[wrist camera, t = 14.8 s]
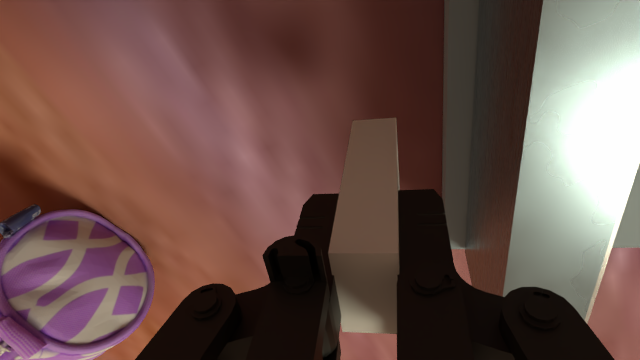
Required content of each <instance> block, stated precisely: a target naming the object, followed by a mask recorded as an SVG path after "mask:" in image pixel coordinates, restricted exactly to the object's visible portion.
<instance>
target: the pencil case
mask: <svg viewBox="0 0 640 360" xmlns="http://www.w3.org/2000/svg"><path fill="white" fill-rule="evenodd" d="M40 213H41V209H40V207H39V206H38V205H35V204H34V205H32V206H30V207H28V208H26V209H24V210H22V211H20V212H18V213H16V214H15V215H13V216H11V217H9V218H7V219H5V220H4V221H2V222H0V233H1V234H2V235H3V239H2V241H1V242H0V360H93V359H94V358H96V357H98V356H100V355H101V354H103V353H104V352H105V351H106V350H108V349H109V348H111V347H113V346H115V345H117V344H118V343H120V342H122V341H123V340H124V339H126V338H127V337H128V336H129V335H130V334H132V333H133V332H134V331H135V330H136V329H137V328H138V326H139V325H140V324H141V322H142V321H143V319H144V318H145V316H146V314H147V312H148V310H149V308H150V306H151V302H152V299H153V294H154V283H155V280H154V271H153V267H152V265H151V262H150V260H149V258H148V256H147V255H146V253H145V252H144V251H143V249H142V248H141V246H140V245H139V244H138V243H137V242H136V241H135V240H134V239H133V238H132V237H131V236H130V235H129V234H127V233H126V232H124V231H123V230H121V229H120V228H118V227H116V226H114V225H113V224H112V223H110V222H109V221H107V220H106V219H104V218H103V217H101V216H99V215H97V214H94V213H91V212H88V211H85V210H78V209H66V210H58V211H53V212H48V213H45V214H42V215H39V214H40ZM38 215H39V216H38ZM36 216H37V217H36Z"/></svg>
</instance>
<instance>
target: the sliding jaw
mask: <svg viewBox="0 0 640 360" xmlns="http://www.w3.org/2000/svg"><path fill="white" fill-rule="evenodd" d="M639 162H640V0H479V13H478V30H477V48H476V66H475V83H474V101H473V119H472V136H471V154H470V172H469V189H468V207H467V225H466V242H465V254H466V259H467V264H468V269H469V274H470V278H471V283H472V286H473V287H474V288H476V289H479V290H482V291H484V292H488V293H491V294H495V295H499V296H503V297H505V296H506V295H507V294H508V293H509V292H510V291H512V290H514V289H517V288H520V287H539V288H543V289H547V290H550V291H552V292H554V293H556V294H558V295H560V296H562V297H564V298H565V299H566V300H567V301H568V302H569V303H570V304H571V305H572V306H573V307H574V308H575V309H576V310H577V312H578V313H579V314H580V316H581V317H582V318H583V319H584V321H585V322H586V323H588V320H589V317H590V314H591V311H592V307H593V304H594V301H595V298H596V295H597V292H598V289H599V286H600V283H601V280H602V277H603V273H604V270H605V267H606V264H607V261H608V258H609V255H610V252H611V249H612V246H613V243H614V239H615V236H616V233H617V230H618V227H619V224H620V221H621V218H622V215H623V212H624V209H625V205H626V202H627V199H628V196H629V193H630V190H631V187H632V184H633V181H634V178H635V175H636V171H637V168H638V165H639Z"/></svg>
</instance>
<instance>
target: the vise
mask: <svg viewBox="0 0 640 360" xmlns="http://www.w3.org/2000/svg"><path fill="white" fill-rule="evenodd" d="M478 13H479V0H444V74H443V150H442V199H443V203H444V209H445V215H446V221H447V227H448V233H449V239H450V245H451V249H465V242H466V225H467V207H468V189H469V172H470V154H471V136H472V119H473V101H474V83H475V66H476V48H477V30H478ZM625 247H640V162H639V165H638V168H637V171H636V175H635V178H634V181H633V184H632V187H631V190H630V193H629V196H628V199H627V202H626V205H625V209H624V212H623V215H622V218H621V221H620V224H619V227H618V230H617V233H616V236H615V239H614V243H613V246H612V248H625Z"/></svg>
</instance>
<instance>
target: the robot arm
mask: <svg viewBox="0 0 640 360" xmlns="http://www.w3.org/2000/svg"><path fill="white" fill-rule="evenodd" d="M263 259H264V262H265V266H266V269H267V272H268V275H269V279H270V283H269V284H268V285H266V286H264V287H261V288H258V289H256V290H252V291H248V292H244V293H240V294H236V295H235V293H234V292H233V290H232V289H231V288H230V287H228V286H226V285H224V284H209V285H205V286H202V287H200V288H198V289H196V290H195V291H193V292H191V293H190V294H189V295H188V296H187V297H186V298H185V299H184V300H183V301H182V302H181V303H180V305H179V306H178V307H177V308H176V310H175V311H174V312H173V313H172V315H171V316H170V317H169V318H168V320H167V321H166V322H165V323H164V324H163V326H162V327H161V328H160V329H159V331H158V332H157V333H156V334H155V336H154V337H153V338H152V339H151V341H150V342H149V343H148V344H147V346H146V347H145V348H144V349H143V350H142V352H141V353H140V354H139V355H138V357H137V358H136V359H135V360H340V355H341V350H340V342H339V331H340V323H341V326H342V331H343V332H362V333H388V334H397V360H614V358H613V357H612V356H611V354H610V353H609V352H608V351H607V349H606V348H605V347H604V345H603V344H602V343H601V341H600V340H599V339H598V338H597V336H596V335H595V334H594V332H593V331H592V330H591V328H590V327H589V326H588V325H587V323H586V322H585V321H584V319H583V318H582V317H581V316H580V314H579V313H578V312H577V310H576V309H575V308H574V307H573V306H572V305H571V304H570V303H569V302H568V301H567V300H566V299H565V298H564V297H562V296H560V295H558V294H556V293H554V292H552V291H550V290H547V289H543V288H539V287H520V288H517V289H514V290H512V291H510V292H509V293H508V294H507V295H506V296H505V297H503V296H499V295H495V294H491V293H488V292H484V291H482V290H479V289H476V288H474V287H473V286H471V285H469V284H468V283H466V282H465V281H464V280H463V279H462V278H461V277H460V276H459V274H458V273H457V272H456V269H455V266H454V263H453V257H452V251H451V245H450V239H449V233H448V227H447V221H446V215H445V209H444V203H443V199H442V198H441V197H440V196H439V195H438V194H437V193H436V191H435V190H434V189H426V190H400V187H399V164H398V143H397V123H396V118H382V119H368V120H353V122H352V127H351V133H350V138H349V143H348V149H347V154H346V160H345V165H344V170H343V176H342V181H341V186H340V192H339V194H313V195H312V196H311V197H310V198H309V199H308V200H307V202H306V203H305V204H304V205H303V208H302V211H301V214H300V219H299V221H298V225H297V229H296V231H295V235H294V236H288V237H284V238H282V239H280V240H277V241H275V242H274V243H273V244H272V245H270V246H269V247H268V248H267V249H266V251H265V253H264V254H263Z"/></svg>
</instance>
